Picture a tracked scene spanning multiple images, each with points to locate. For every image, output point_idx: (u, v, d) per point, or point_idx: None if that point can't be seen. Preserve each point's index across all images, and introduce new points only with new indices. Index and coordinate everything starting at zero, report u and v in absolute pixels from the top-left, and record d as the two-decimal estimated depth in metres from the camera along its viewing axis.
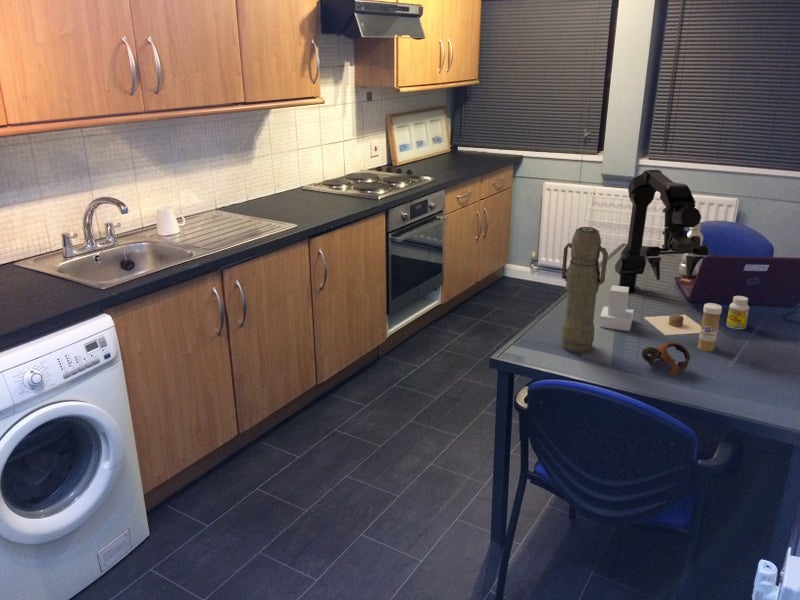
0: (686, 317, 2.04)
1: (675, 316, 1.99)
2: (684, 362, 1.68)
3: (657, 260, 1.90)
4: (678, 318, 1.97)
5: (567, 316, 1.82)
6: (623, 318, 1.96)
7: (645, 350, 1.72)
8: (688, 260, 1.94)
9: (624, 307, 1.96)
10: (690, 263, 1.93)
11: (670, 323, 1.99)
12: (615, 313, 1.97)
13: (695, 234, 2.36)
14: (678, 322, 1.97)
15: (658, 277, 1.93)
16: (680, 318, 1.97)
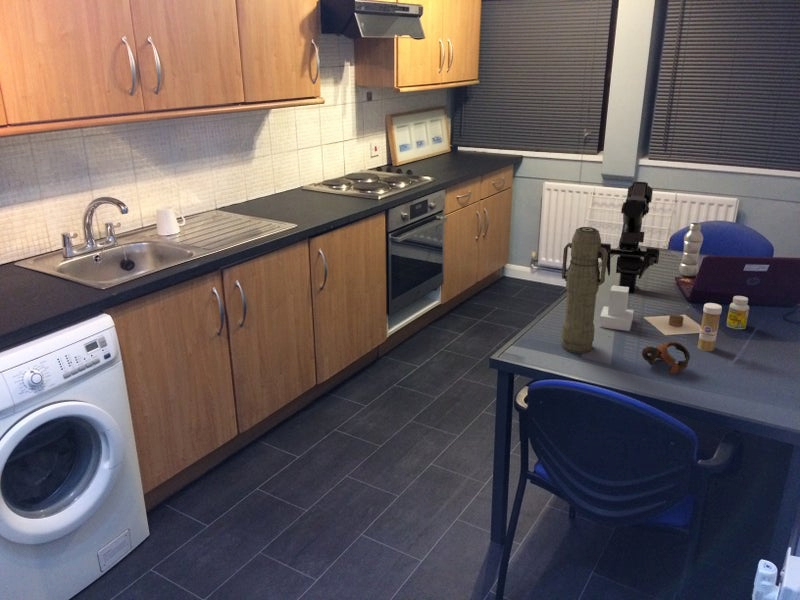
0: (686, 317, 2.04)
1: (675, 316, 1.99)
2: (684, 361, 1.68)
3: None
4: (678, 318, 1.97)
5: (567, 316, 1.82)
6: (623, 318, 1.96)
7: (645, 350, 1.72)
8: None
9: (624, 307, 1.96)
10: (642, 264, 2.03)
11: (670, 323, 1.99)
12: (615, 313, 1.97)
13: (695, 234, 2.36)
14: (678, 322, 1.97)
15: (608, 271, 2.05)
16: (680, 318, 1.97)
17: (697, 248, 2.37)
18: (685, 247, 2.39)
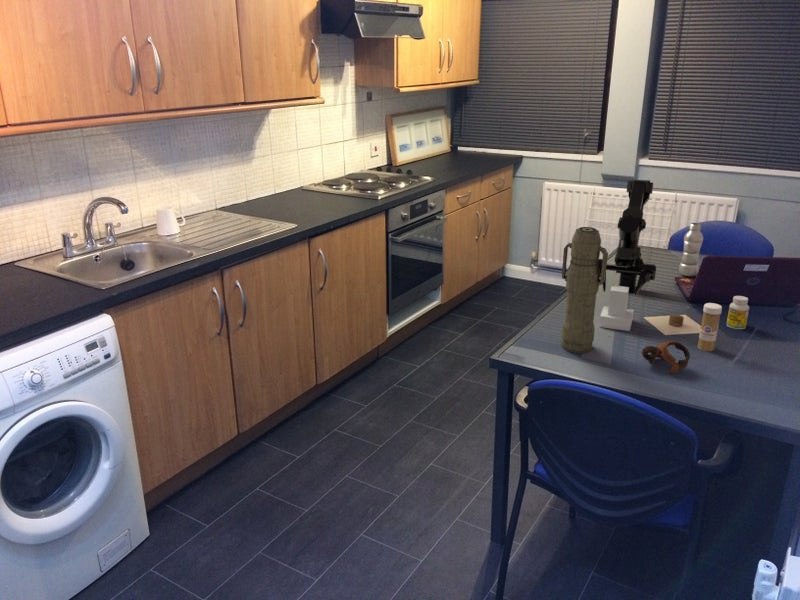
0: (686, 317, 2.04)
1: (675, 316, 1.99)
2: (684, 360, 1.69)
3: None
4: (678, 318, 1.97)
5: (567, 316, 1.82)
6: (623, 318, 1.96)
7: (645, 349, 1.72)
8: None
9: (624, 307, 1.96)
10: None
11: (670, 323, 1.99)
12: (615, 313, 1.97)
13: (695, 234, 2.36)
14: (678, 322, 1.97)
15: (603, 287, 2.00)
16: (680, 318, 1.97)
17: (697, 248, 2.37)
18: (685, 247, 2.39)
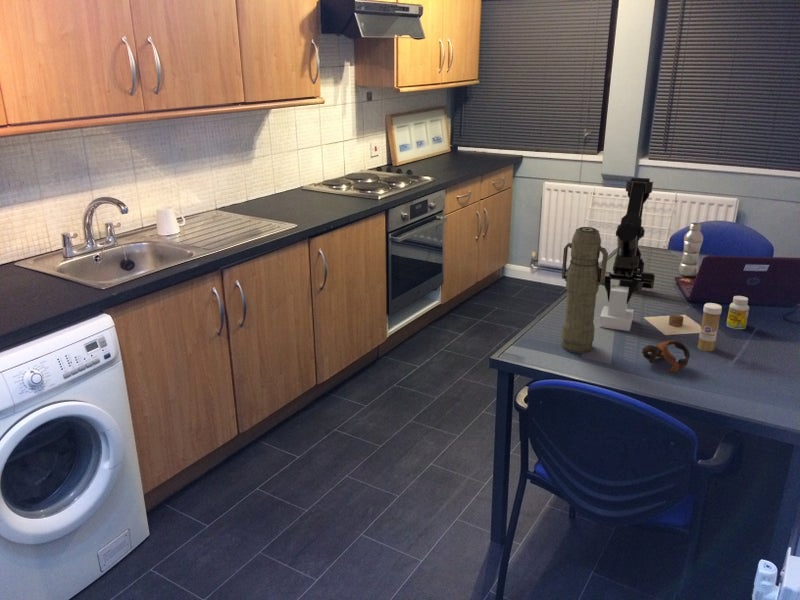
0: (686, 317, 2.04)
1: (675, 316, 1.99)
2: (684, 359, 1.69)
3: (607, 279, 1.99)
4: (677, 318, 1.97)
5: (567, 316, 1.82)
6: (623, 318, 1.96)
7: (646, 348, 1.73)
8: None
9: (624, 307, 1.96)
10: (630, 288, 1.97)
11: (670, 323, 1.99)
12: (615, 313, 1.97)
13: (695, 234, 2.36)
14: (677, 322, 1.97)
15: (608, 297, 1.98)
16: (680, 318, 1.97)
17: (697, 248, 2.37)
18: (685, 247, 2.39)
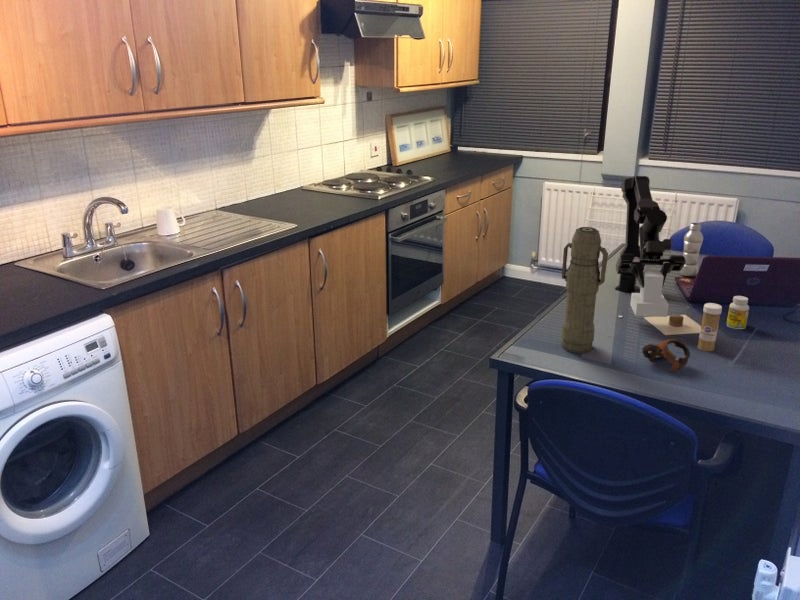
0: (686, 317, 2.04)
1: (675, 316, 1.99)
2: (684, 358, 1.70)
3: (639, 265, 1.94)
4: (677, 318, 1.97)
5: (567, 316, 1.82)
6: (660, 303, 1.92)
7: (646, 347, 1.73)
8: None
9: (660, 292, 1.92)
10: (662, 272, 1.94)
11: (670, 323, 1.99)
12: (650, 299, 1.93)
13: (695, 234, 2.36)
14: (677, 322, 1.97)
15: (642, 283, 1.93)
16: (680, 318, 1.97)
17: (697, 248, 2.37)
18: (685, 247, 2.39)
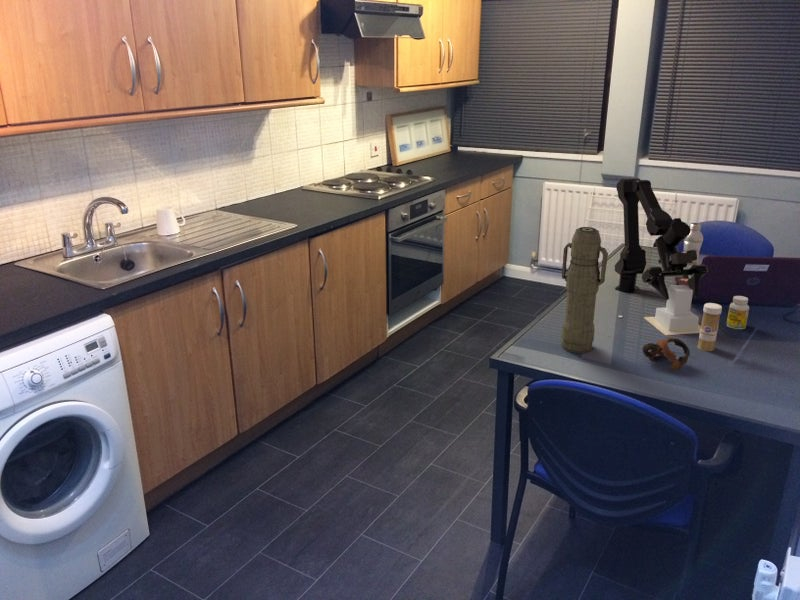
0: None
1: None
2: (685, 357, 1.71)
3: (661, 278, 1.95)
4: None
5: (567, 316, 1.82)
6: (690, 316, 1.95)
7: (646, 346, 1.74)
8: (689, 282, 1.99)
9: (689, 305, 1.95)
10: (692, 282, 1.97)
11: None
12: (680, 313, 1.95)
13: (695, 234, 2.36)
14: None
15: (667, 296, 1.94)
16: None
17: (697, 248, 2.37)
18: (685, 247, 2.39)
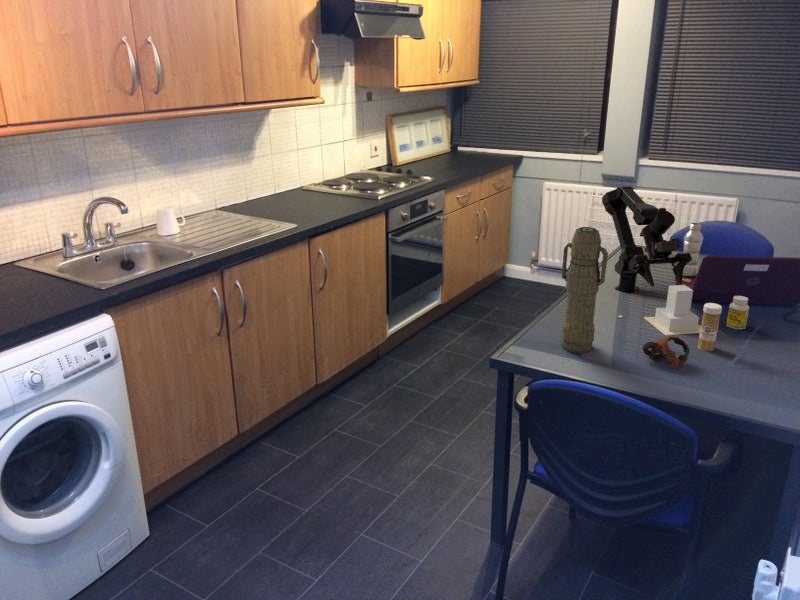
0: None
1: None
2: (685, 355, 1.72)
3: (647, 265, 2.03)
4: None
5: (567, 316, 1.82)
6: (690, 316, 1.95)
7: (646, 345, 1.75)
8: (675, 270, 2.07)
9: (689, 305, 1.95)
10: (677, 270, 2.05)
11: None
12: (680, 313, 1.95)
13: (695, 234, 2.36)
14: None
15: (652, 282, 2.03)
16: None
17: (697, 248, 2.37)
18: (685, 247, 2.39)
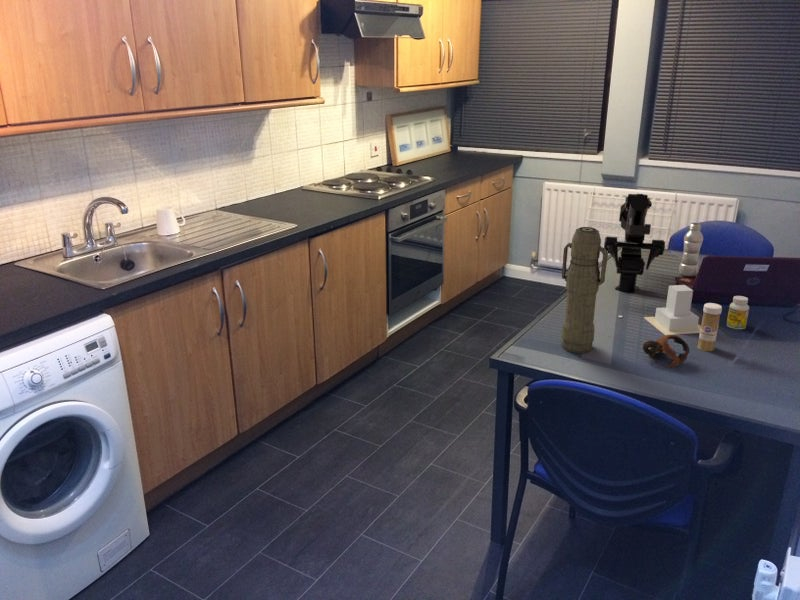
0: None
1: None
2: (684, 354, 1.72)
3: (614, 247, 2.12)
4: None
5: (567, 316, 1.82)
6: (690, 316, 1.95)
7: (646, 343, 1.75)
8: None
9: (689, 305, 1.95)
10: None
11: None
12: (680, 313, 1.95)
13: (695, 234, 2.36)
14: None
15: (616, 263, 2.11)
16: None
17: (697, 248, 2.37)
18: (685, 247, 2.39)
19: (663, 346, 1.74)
